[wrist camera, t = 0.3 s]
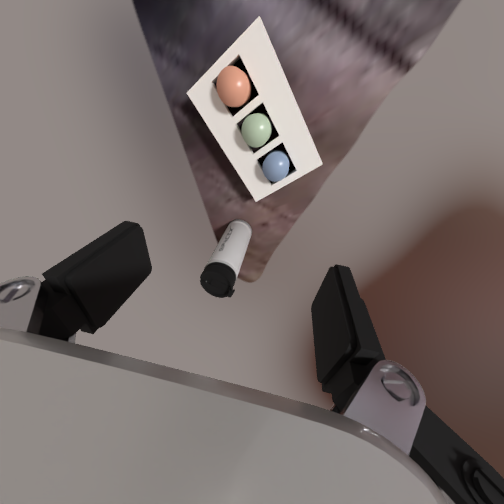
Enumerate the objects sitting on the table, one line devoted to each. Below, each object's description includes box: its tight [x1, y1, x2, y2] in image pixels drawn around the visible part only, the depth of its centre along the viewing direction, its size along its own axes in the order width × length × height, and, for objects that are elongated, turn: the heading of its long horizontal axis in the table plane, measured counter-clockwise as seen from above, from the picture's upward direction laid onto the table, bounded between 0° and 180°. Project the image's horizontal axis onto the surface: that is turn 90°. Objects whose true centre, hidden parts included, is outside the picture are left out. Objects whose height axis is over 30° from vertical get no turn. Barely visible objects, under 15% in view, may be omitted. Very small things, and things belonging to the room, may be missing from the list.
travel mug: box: [200, 219, 252, 298], centre depth 42 cm, size 6×7×20 cm
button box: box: [187, 16, 322, 202], centre depth 35 cm, size 21×14×4 cm, turn 33°
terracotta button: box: [217, 66, 252, 107], centre depth 30 cm, size 5×5×4 cm
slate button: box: [262, 149, 289, 182], centre depth 36 cm, size 5×5×4 cm
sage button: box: [241, 113, 272, 147], centre depth 33 cm, size 5×5×4 cm
